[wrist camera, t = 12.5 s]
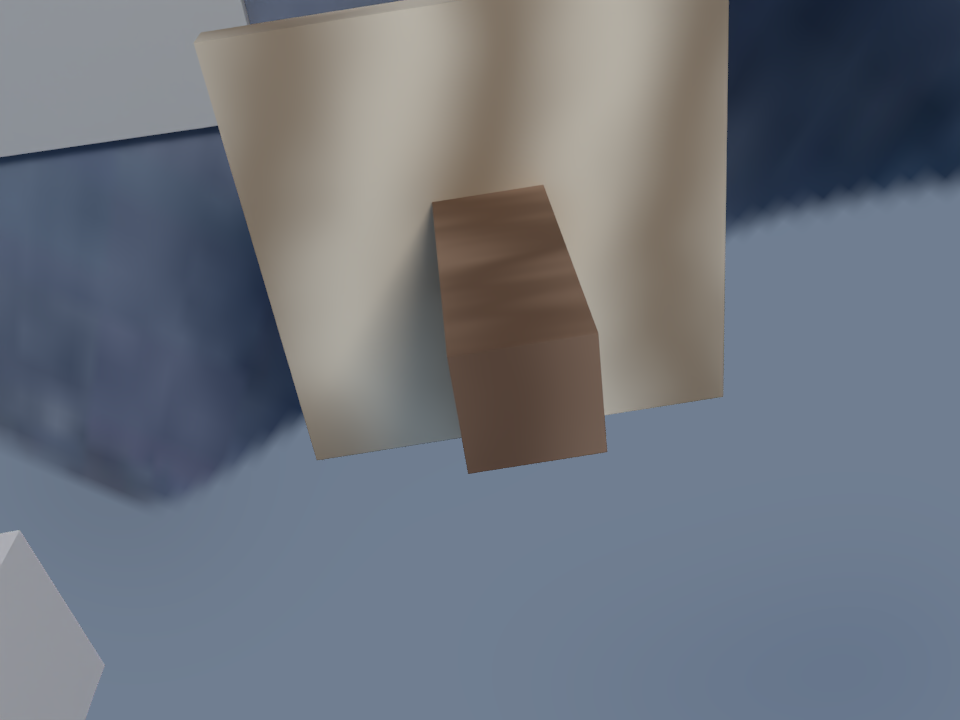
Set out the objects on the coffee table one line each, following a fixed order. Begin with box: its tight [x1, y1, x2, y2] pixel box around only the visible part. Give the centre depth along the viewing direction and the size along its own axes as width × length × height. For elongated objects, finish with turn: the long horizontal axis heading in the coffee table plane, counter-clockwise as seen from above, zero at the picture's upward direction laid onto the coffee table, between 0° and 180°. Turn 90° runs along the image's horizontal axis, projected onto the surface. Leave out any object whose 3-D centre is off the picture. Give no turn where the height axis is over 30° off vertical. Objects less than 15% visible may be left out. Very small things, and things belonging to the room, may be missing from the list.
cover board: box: [194, 0, 729, 474], centre depth 26 cm, size 15×15×10 cm
